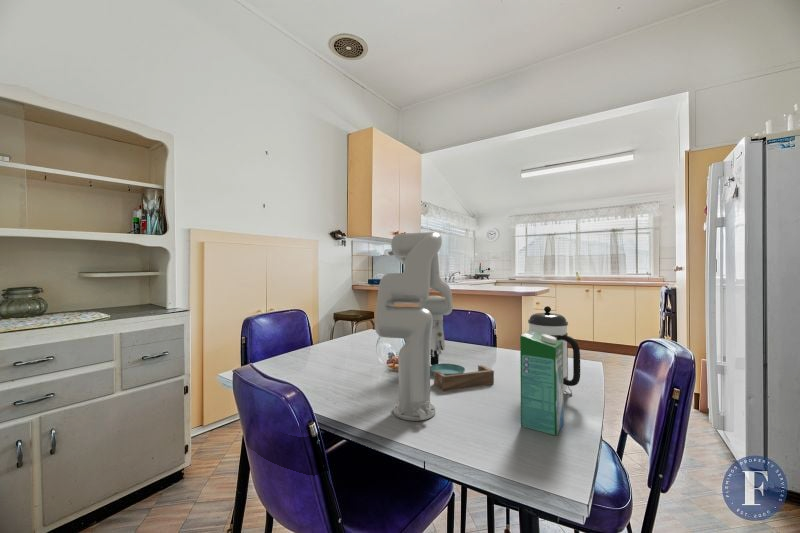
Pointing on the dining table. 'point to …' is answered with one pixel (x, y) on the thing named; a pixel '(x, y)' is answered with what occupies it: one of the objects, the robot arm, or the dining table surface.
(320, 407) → the dining table surface
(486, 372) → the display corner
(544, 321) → the coffee press
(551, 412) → the milk carton
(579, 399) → the dining table surface
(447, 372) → the saucer
